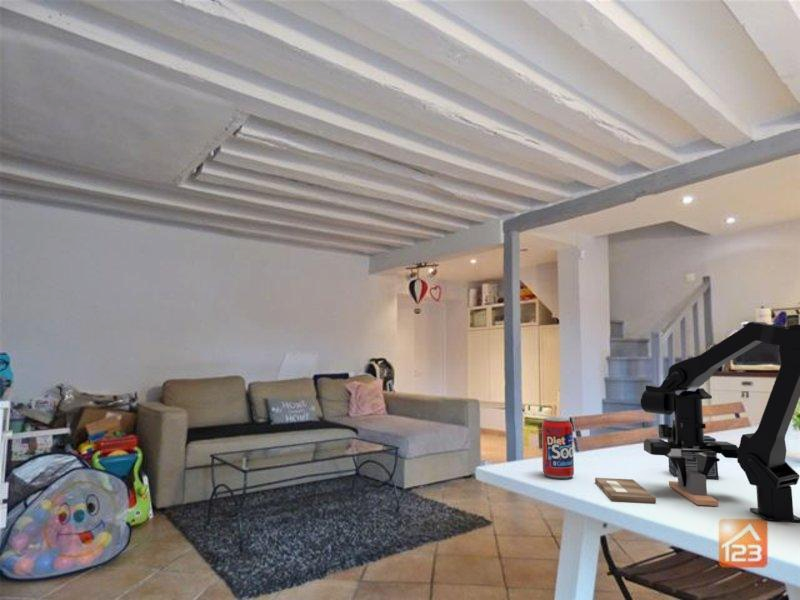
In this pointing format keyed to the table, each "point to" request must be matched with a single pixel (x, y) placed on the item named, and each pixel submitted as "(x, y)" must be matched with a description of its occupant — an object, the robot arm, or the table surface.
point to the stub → (694, 488)
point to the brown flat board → (624, 490)
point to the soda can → (557, 448)
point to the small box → (695, 462)
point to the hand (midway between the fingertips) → (691, 486)
